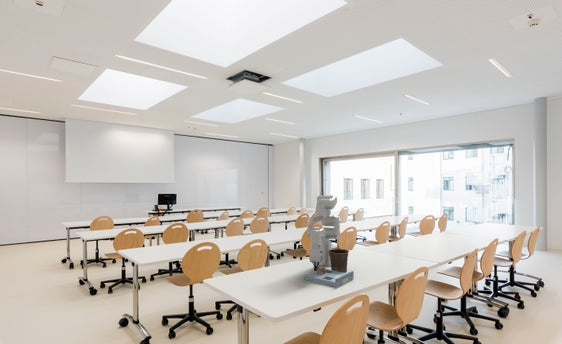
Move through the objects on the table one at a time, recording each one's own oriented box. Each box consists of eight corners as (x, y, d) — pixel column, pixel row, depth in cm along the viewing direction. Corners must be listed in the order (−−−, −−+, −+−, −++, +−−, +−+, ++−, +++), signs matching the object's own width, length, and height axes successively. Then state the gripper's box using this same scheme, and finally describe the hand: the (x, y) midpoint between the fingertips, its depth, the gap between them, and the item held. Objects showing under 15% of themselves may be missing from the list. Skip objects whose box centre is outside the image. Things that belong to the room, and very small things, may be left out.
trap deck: (321, 272, 243) (321, 265, 244) (353, 278, 225) (353, 271, 226) (303, 279, 225) (303, 271, 225) (337, 287, 207) (336, 278, 207)
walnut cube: (320, 272, 232) (320, 266, 233) (325, 273, 229) (325, 267, 230) (316, 273, 229) (316, 267, 229) (321, 274, 226) (321, 268, 226)
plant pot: (326, 273, 240) (326, 252, 240) (330, 268, 255) (330, 248, 256) (348, 275, 234) (347, 253, 235) (350, 269, 250) (350, 249, 250)
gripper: (326, 246, 231) (327, 271, 230) (310, 244, 241) (310, 268, 240) (321, 248, 225) (321, 273, 224) (304, 245, 235) (305, 270, 234)
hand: (316, 270), depth 232 cm, fingers closed
